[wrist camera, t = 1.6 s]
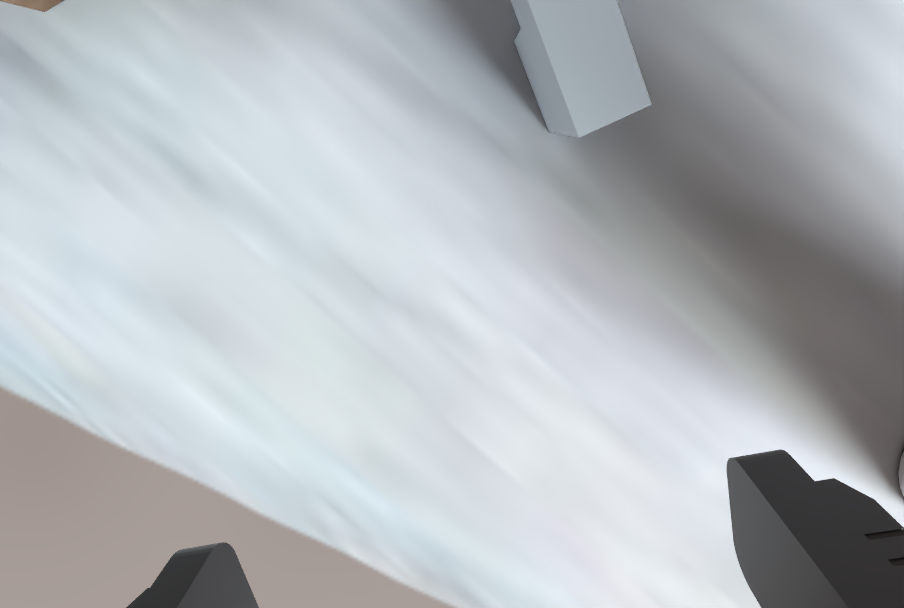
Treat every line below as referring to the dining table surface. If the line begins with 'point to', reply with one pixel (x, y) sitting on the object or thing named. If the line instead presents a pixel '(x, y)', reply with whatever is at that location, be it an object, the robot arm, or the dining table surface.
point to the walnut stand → (35, 3)
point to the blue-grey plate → (579, 63)
